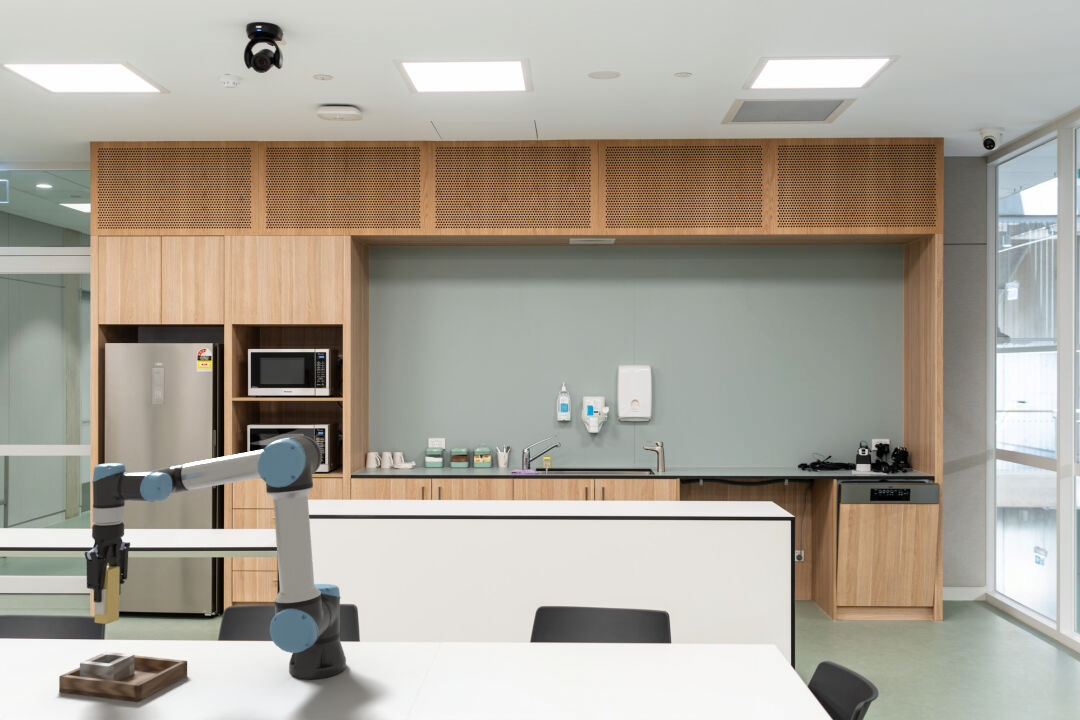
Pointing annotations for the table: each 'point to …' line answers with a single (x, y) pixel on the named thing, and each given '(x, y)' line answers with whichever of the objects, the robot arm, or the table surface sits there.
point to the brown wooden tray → (122, 676)
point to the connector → (110, 596)
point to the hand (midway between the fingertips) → (107, 611)
